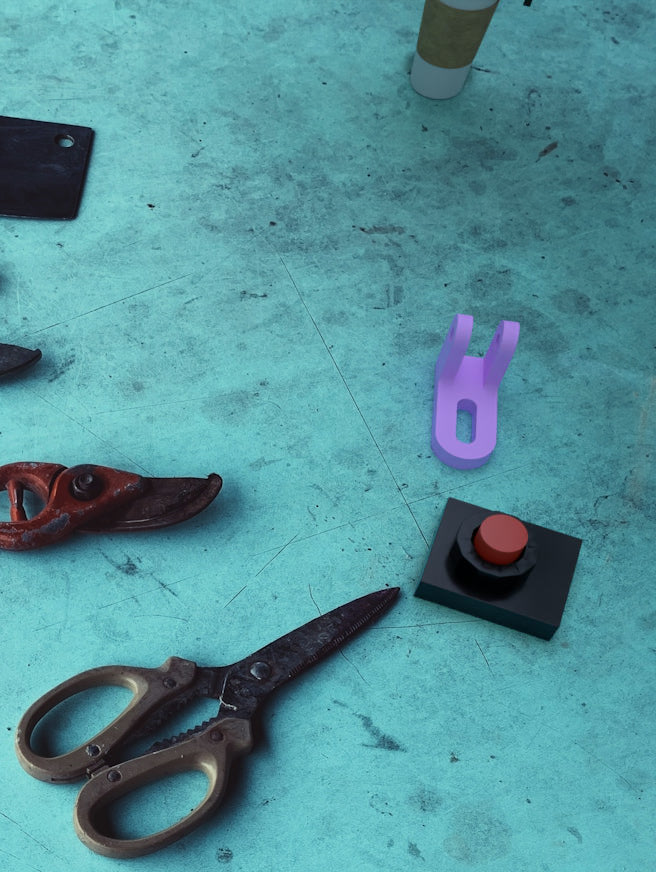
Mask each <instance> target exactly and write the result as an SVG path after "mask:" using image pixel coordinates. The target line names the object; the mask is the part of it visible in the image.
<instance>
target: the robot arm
mask: <svg viewBox="0 0 656 872" xmlns="http://www.w3.org/2000/svg"><path fill="white" fill-rule="evenodd" d="M532 4H533V0H524V1H523V4H522V6H525V7H528V8H530V7H531V5H532Z"/></svg>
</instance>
